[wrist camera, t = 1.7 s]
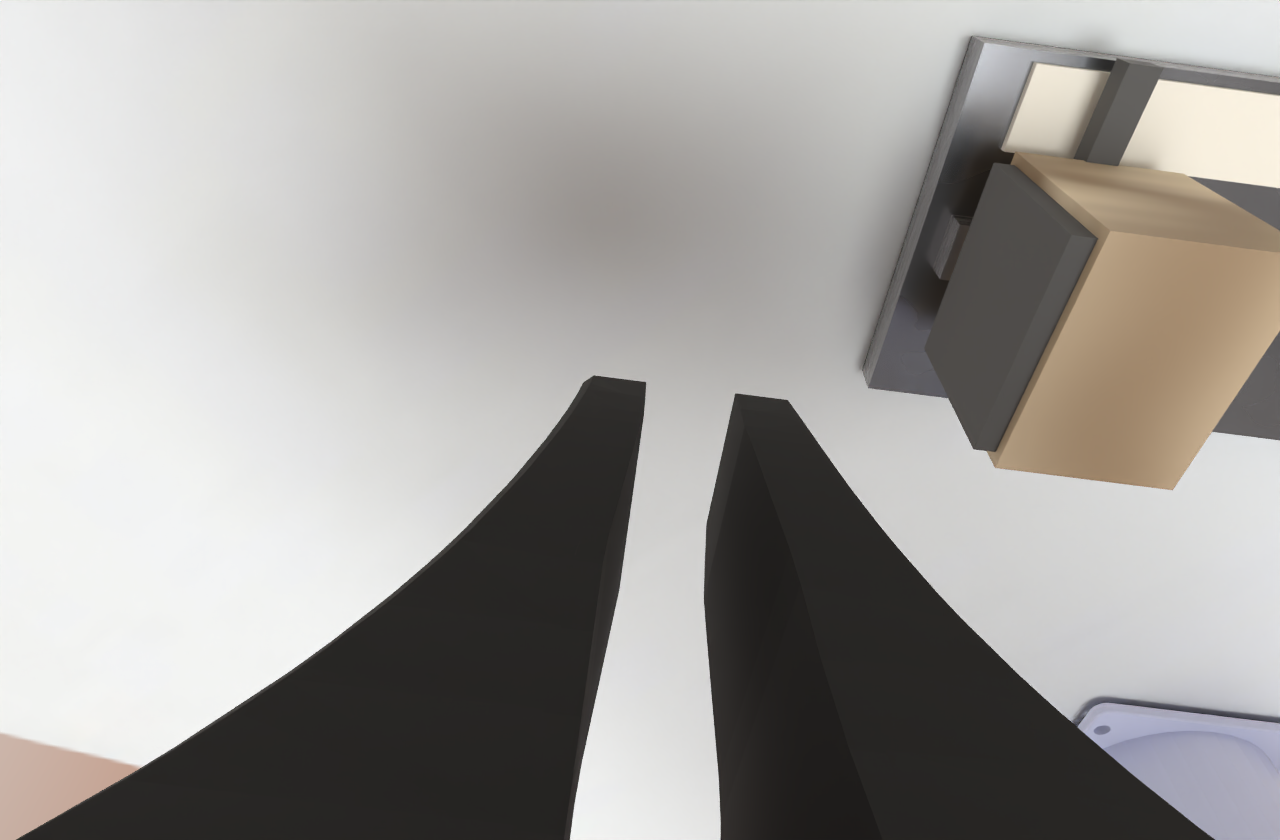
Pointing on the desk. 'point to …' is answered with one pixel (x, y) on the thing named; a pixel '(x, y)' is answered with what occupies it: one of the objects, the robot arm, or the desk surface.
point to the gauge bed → (1054, 126)
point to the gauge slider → (1103, 307)
